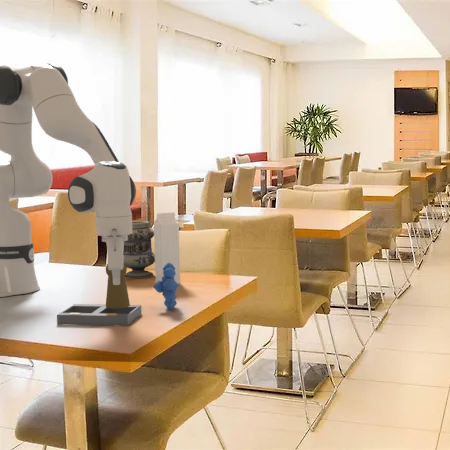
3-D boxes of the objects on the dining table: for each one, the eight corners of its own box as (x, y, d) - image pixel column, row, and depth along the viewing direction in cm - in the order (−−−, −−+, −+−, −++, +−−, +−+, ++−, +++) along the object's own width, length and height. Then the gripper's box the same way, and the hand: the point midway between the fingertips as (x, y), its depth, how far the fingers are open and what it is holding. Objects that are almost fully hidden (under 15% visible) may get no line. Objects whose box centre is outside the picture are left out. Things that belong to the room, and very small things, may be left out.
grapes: (154, 304, 205) (152, 260, 203) (178, 303, 205) (177, 259, 204) (154, 313, 193) (152, 267, 192) (180, 312, 194) (179, 266, 193)
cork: (127, 308, 185) (126, 264, 183) (103, 308, 185) (101, 264, 183) (131, 302, 191) (130, 259, 189) (108, 302, 191) (106, 260, 189)
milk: (155, 283, 235) (152, 212, 233) (173, 280, 238) (170, 211, 236) (162, 286, 230) (159, 214, 227) (181, 283, 233) (178, 212, 230)
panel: (57, 324, 185) (56, 314, 184) (74, 313, 196) (74, 303, 196) (128, 325, 182) (127, 315, 181) (141, 314, 193) (141, 304, 193)
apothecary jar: (137, 271, 256) (135, 219, 254) (164, 274, 249) (162, 220, 247) (112, 277, 247) (109, 222, 244) (139, 280, 240) (137, 224, 237)
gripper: (127, 231, 176) (130, 289, 177) (126, 222, 196) (128, 274, 197) (100, 232, 175) (103, 291, 176) (102, 223, 195) (104, 276, 196)
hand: (116, 282), depth 187 cm, fingers closed on cork, 4 cm apart
